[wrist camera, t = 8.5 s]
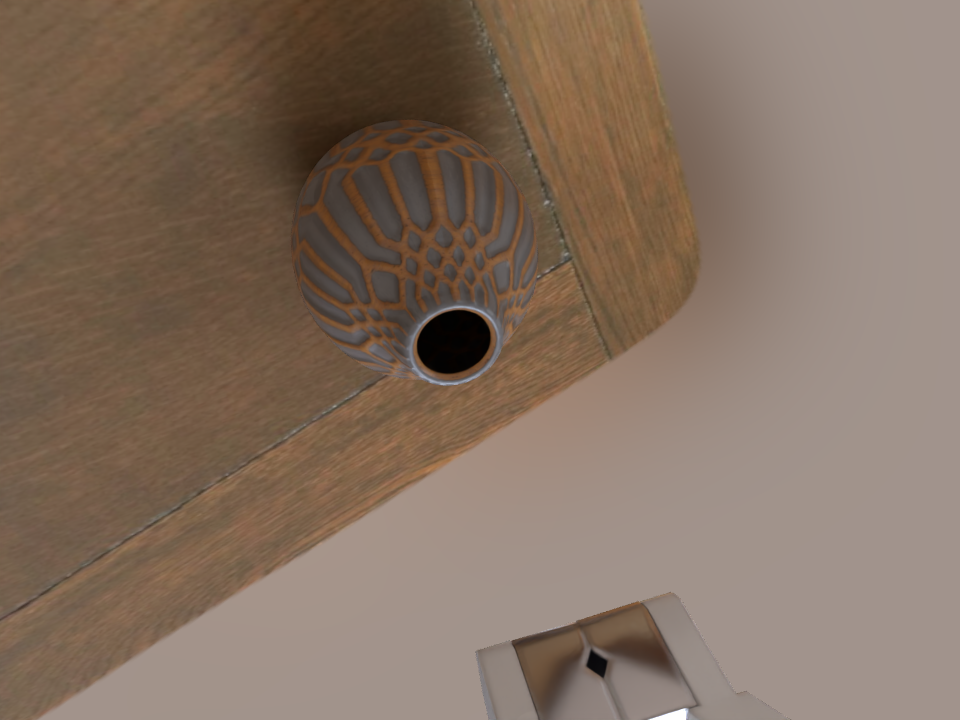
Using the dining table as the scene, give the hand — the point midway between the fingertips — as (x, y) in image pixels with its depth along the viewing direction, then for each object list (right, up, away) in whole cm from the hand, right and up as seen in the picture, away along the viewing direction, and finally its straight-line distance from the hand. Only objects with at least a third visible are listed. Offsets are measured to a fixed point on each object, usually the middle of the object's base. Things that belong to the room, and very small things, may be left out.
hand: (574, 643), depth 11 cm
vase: (-4, +9, +14) cm, 17 cm away
